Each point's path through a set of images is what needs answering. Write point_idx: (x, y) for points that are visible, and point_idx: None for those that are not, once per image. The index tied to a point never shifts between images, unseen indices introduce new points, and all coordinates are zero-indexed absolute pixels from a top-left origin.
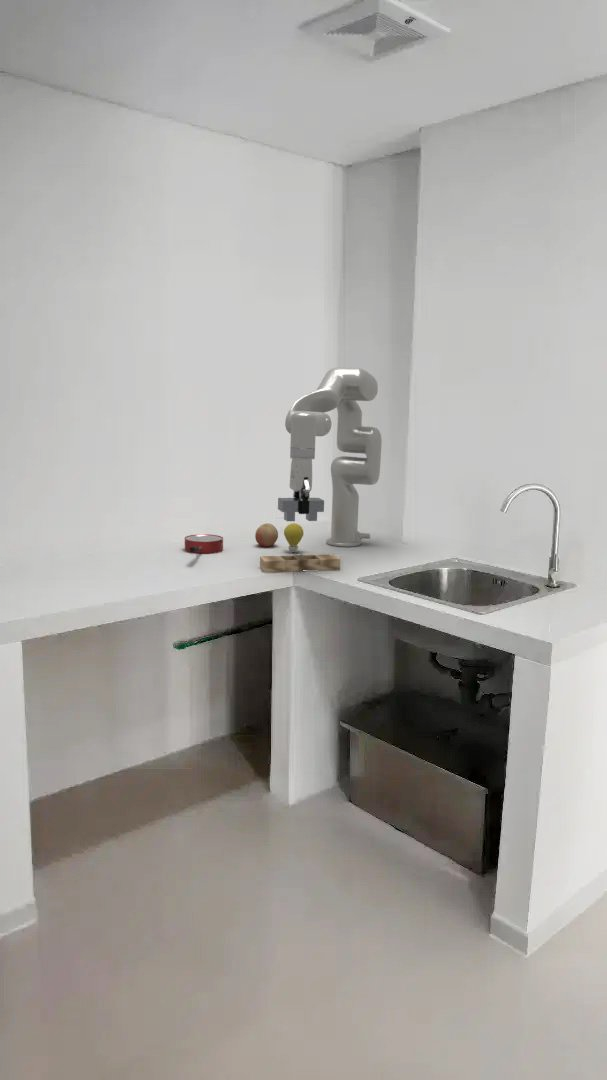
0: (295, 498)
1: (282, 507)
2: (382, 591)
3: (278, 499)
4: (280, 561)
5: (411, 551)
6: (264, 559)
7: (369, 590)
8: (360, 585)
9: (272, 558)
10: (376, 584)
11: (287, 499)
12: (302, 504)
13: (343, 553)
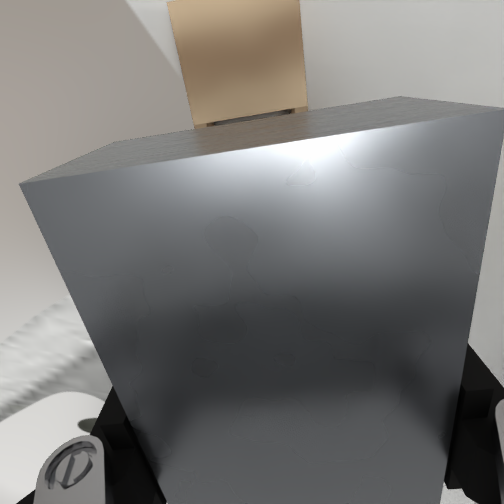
0: (374, 407)
1: (91, 153)
2: (3, 373)
3: (440, 113)
4: (188, 97)
5: (463, 496)
6: (212, 2)
7: (2, 348)
8: (53, 336)
9: (240, 55)
10: (76, 373)
11: (238, 289)
12: (102, 415)
13: (491, 355)
